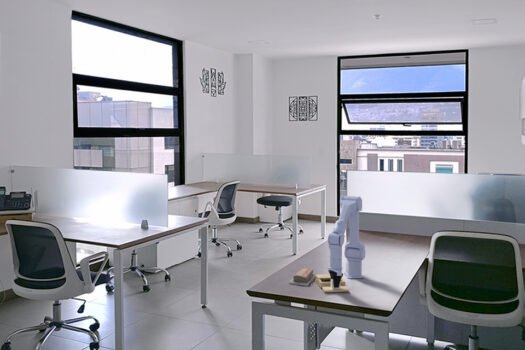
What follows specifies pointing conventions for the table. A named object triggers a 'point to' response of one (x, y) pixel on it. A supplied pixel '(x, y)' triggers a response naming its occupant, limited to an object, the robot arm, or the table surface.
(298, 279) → the packaged product
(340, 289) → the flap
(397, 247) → the table surface
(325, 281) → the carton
